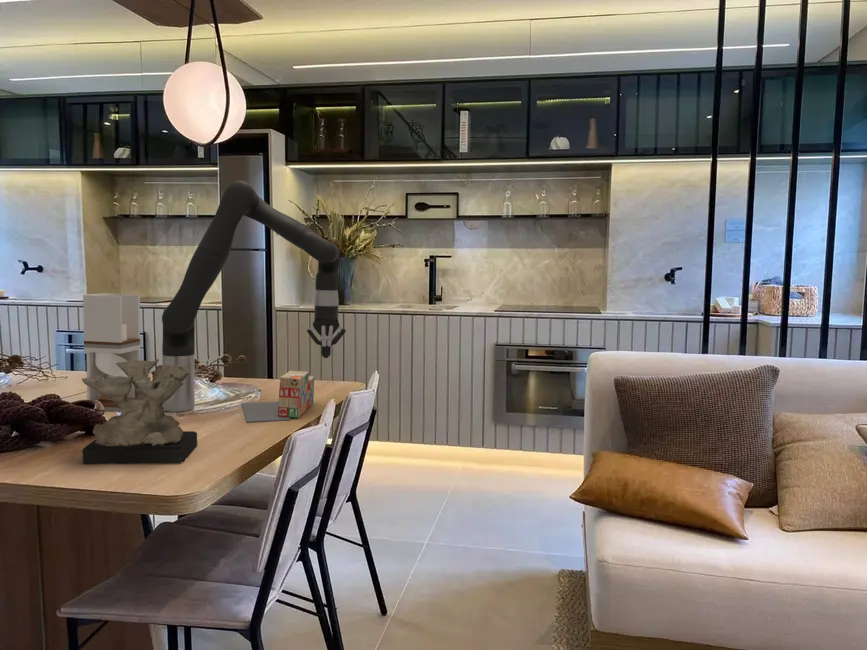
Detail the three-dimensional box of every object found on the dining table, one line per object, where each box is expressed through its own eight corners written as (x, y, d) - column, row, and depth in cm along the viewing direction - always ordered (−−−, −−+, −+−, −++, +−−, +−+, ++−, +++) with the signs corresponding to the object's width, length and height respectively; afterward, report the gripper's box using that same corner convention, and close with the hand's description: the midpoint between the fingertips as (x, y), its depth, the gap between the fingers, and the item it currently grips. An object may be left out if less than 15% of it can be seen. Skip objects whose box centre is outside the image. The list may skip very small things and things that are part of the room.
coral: (65, 464, 133) (63, 370, 131) (104, 438, 153) (103, 356, 151) (181, 464, 136) (181, 372, 134) (205, 438, 156) (205, 358, 154)
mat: (246, 422, 173) (246, 421, 173) (241, 404, 195) (241, 403, 195) (290, 420, 177) (290, 419, 177) (280, 402, 200) (280, 401, 199)
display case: (85, 409, 180) (83, 294, 177) (106, 401, 191) (104, 293, 188) (121, 411, 180) (119, 296, 176) (140, 403, 190) (139, 295, 187)
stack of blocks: (295, 401, 200) (297, 365, 199) (313, 403, 200) (315, 367, 199) (277, 416, 179) (279, 376, 178) (298, 418, 179) (300, 378, 178)
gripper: (344, 303, 196) (343, 355, 197) (303, 303, 191) (303, 356, 193) (349, 305, 189) (348, 359, 190) (307, 304, 184) (306, 360, 186)
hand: (325, 357), depth 191 cm, fingers closed
